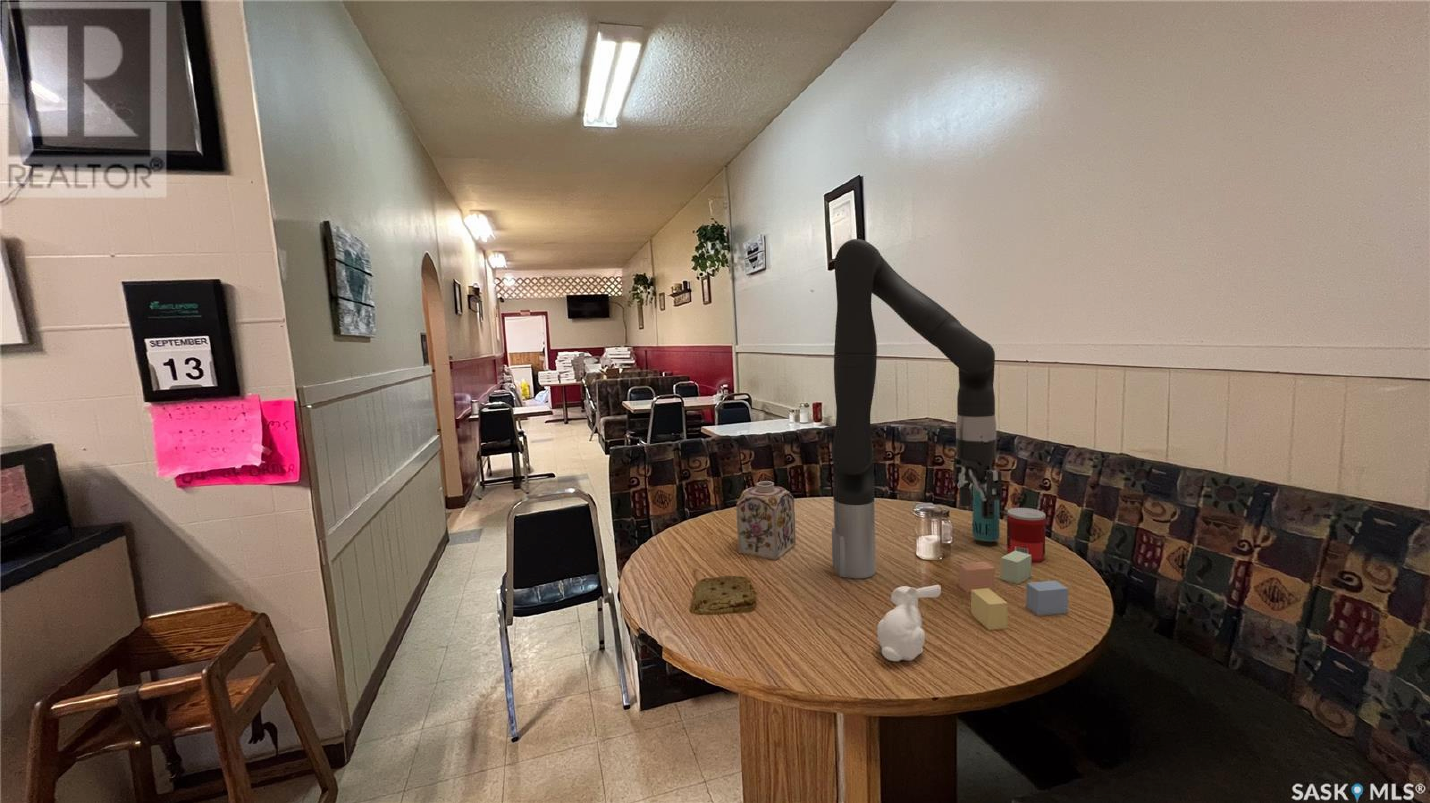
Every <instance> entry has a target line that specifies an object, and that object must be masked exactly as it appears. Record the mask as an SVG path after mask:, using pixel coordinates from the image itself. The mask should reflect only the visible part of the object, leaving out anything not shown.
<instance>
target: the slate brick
mask: <svg viewBox="0 0 1430 803" xmlns="http://www.w3.org/2000/svg"><path fill="white" fill-rule="evenodd" d="M1025 589H1026V590H1025V591H1026V593H1025V594H1026V597H1025V599H1026V600H1025V602H1026V603H1025V607H1026V608H1027V609H1028V610H1030V611H1031V612H1033V613H1034V614H1035V615H1037V616H1038V617H1039V616H1049V615H1059V614H1068V613H1069V612H1068V611H1069V588H1068V587H1067V586H1065V585H1064V584H1062V583H1060V582H1059V581H1058V580H1047V581H1037V582H1036V581H1035V582H1026V588H1025Z"/></svg>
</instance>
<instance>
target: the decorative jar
mask: <svg viewBox="0 0 1430 803" xmlns="http://www.w3.org/2000/svg"><path fill="white" fill-rule="evenodd" d="M735 506H736V528H737V530H736V531H737V545H738V547H737V548H738V553H739V554H742V555H747V556H752V557H758V558H763V559H767V560H773V561H777V560H779V559H780V558H781V557H783V555H785V554H786V553H787V552H789V551H790V550H791V549H793V548H794V547H795V546H796V545H797V544H796V540H797V539H796V538H797V535H796V513H795V497H794V496H793V495H792V494H791V493H790V491H789V490H786V488H784V487H782V486H775V483H774V482H773V481H769V480H764V481H759V482H756V483H755V486H752V487H749V488H746V489H743V491H742V493H741V494H740V497H739V498H738V500H737V502H736V505H735Z"/></svg>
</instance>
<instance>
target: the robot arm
mask: <svg viewBox="0 0 1430 803" xmlns="http://www.w3.org/2000/svg"><path fill="white" fill-rule="evenodd" d="M833 264H834V277H835V278H834V279H835V290H836V292H835V293H836V319H835V328H834V329H835V334H834V347H833V349H834V350H833V351H834V352H833V353H834V354H833V379H834V380H833V385H834V396H835V406H836V407H835V408H836V413H835V414H836V416H835V427H834V435H833V442H832V446H831V453H830V454H831V459H832V462H833V465H832V466H833V470H832V472H833V480H832V493H833V494H832V496H833V497H832V498H833V499H832V500H833V527H832V528H831V551H832V552H831V553H832V554H831V556H832V568H833V569H834V570H835V572H836V573H837V575H838V576H839V577H840V578H851V579H865V578H870V577H873V576H874V575H875V574H876V572H877V571H876V570H877V569H876V568H877V561H876V523H875V522H876V520H875V519H876V515H875V509H876V508H875V470H874V464H875V462H874V461H875V460H874V458H875V457H874V455H875V454H874V444H873V442H872V431H871V430H872V429H871V415H872V414H871V411H872V403H873V399H874V391H875V387H876V386H875V384H876V377H877V376H876V375H877V360H878V359H877V358H878V357H877V356H878V355H877V354H878V353H877V352H878V346H877V345H878V343H877V334H876V327H875V322H874V317H873V310H872V297H873V295H874V296H876V297H877V298H879V299H880V300H882V302H883V303H885V304H886V305H888V307H890V309H892V311H894V312H895V313H896V314H897V315H898V317H899V318H901V319H902V320H903V321H904V323H906V324H907V325H908V326H909V327H910V328H911V329H912V330H914V331H915V332H916V333H917V334H919V336H921V337H922V338H923V339H925V340H926V341H927V342H929V343H930V344H931V345H932V346H934V347H936V349H938V350H939V351H940V352H941V353H942V354H943V355H944V356H945V357H946V358H947V359H948V360H949V361H950V362H951V363H952V364H953V365H955V366H956V367H957V368H958V384H959V385H958V391H957V396H956V397H957V398H956V401H957V402H956V405H957V406H956V409H957V411H956V413H957V416H956V422H955V423H956V424H955V425H956V426H955V451H956V452H955V453H956V454H955V455H956V457H953V470H952V473H953V474H952V482H953V484H955V485H956V486H957V488H958V490H959V493H958V494H959V505H960V506H962V507H969V506H970V507H971V504H972V494H971V493H972V489H971V488H972V487H973V485H975V488H976V490H977V491H979V492H980V495H981V498H982V500H983V501H982V518H984V519H992V518H994V501H995V500H999V501H1001V500H1003V485H1002V480H1003V479H1002V471H1001V470H1000V469H997V470H996V469H995V470H991V467H992V466H991V462H993V461H994V460H995V459H997V422H996V397H995V389H994V381H995V379H994V378H995V364H996V363H995V362H996V352H995V350H994V348H993V346H992V345H991V344H990V343H989V342H987V341H985V340H984V339H982V338H980V337H979V336H978V335H976V334H975V333H974V332H972V331H971V330H969V329H968V328H966V327H965V326H964V325H963V324H962V323H961V322H960V321H959V320H958V319H957V318H956V317H955V315H953V314H952V313H950V312H949V311H947V309H945V308H944V307H943V306H941V305H940V304H939V303H937V301H935V300H933V299H932V298H931V297H929V296H928V295H926V294H925V293H923V292H922V291H920V290H918V289H917V287H914V285H912V284H910V283H909V282H908V281H907V280H905V279H904V278H903V277H902V276H901V275H900V274H898V272H896V271H895V269H894V268H893V267H892V266H891V265H890V264H889V262H888V261H886V259H885V258H884V257H883V256H882V255H881V253H880V251H879V249H877V247H875V246H874V245H873V244H871V242H869V241H867V240H864V239H860V238H854V239H853V238H852V239H850V240H847V241H846V242H844V243H843V244H842V245H841V246H840V247H839V249H838V250H837V252H836V255H835V258H834V262H833ZM993 481H994V482H993ZM985 484H986V485H985ZM995 488H996V494H995V491H994V489H995ZM985 490H987V495H986V493H985Z"/></svg>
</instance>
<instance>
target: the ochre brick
mask: <svg viewBox="0 0 1430 803" xmlns="http://www.w3.org/2000/svg"><path fill="white" fill-rule="evenodd" d="M970 605H971V607H970V612H971V613H970V614H971V615H972V616H973V617H974V618H975V619H976V620H977V621H978V622H979V623H981V624H982V625H983V626H984V627H985V628H986V629H987V630H988V631H994V630H1002V629H1008V602H1007V601H1005V600H1004V599H1003V598H1002V597H1000V596H999V595H998V594H997V593H996V592H994V590H993V591H991V590H990V589H989V588H985V589H974V590H971V592H970Z"/></svg>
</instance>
